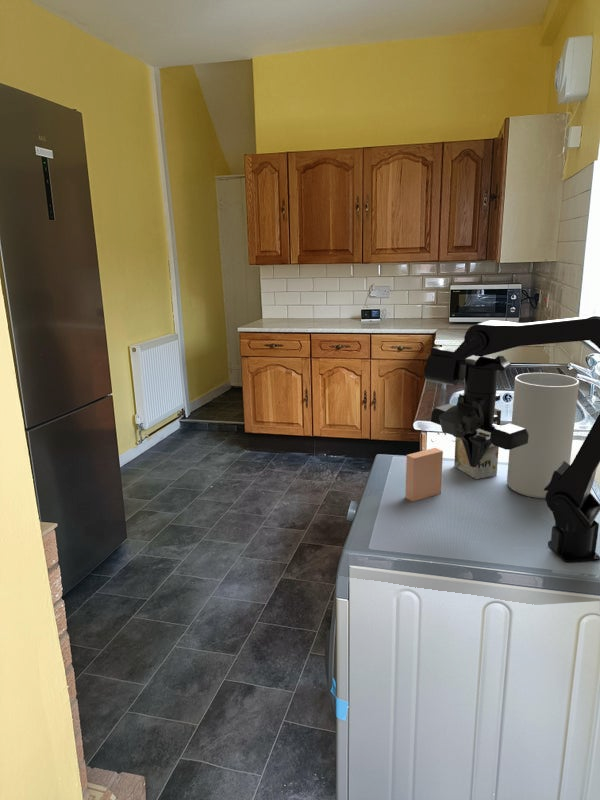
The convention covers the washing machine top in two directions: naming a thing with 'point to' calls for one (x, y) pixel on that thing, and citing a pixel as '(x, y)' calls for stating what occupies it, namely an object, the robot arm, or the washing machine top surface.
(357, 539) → the washing machine top surface
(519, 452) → the cylinder vase
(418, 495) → the block
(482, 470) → the coffee box
